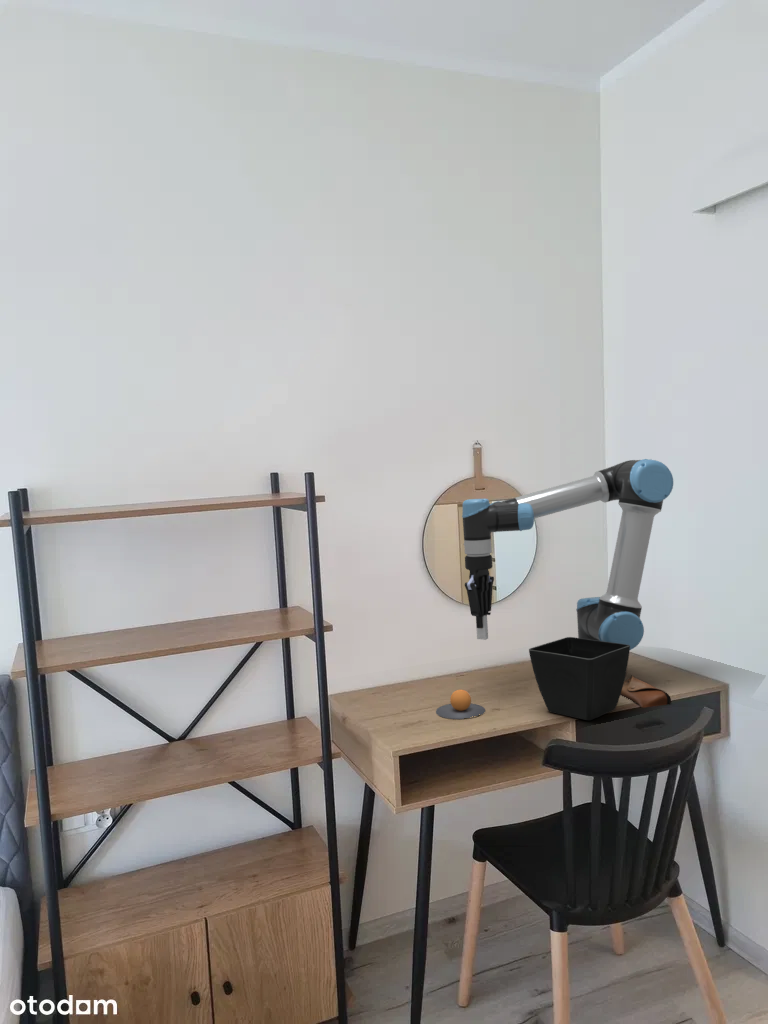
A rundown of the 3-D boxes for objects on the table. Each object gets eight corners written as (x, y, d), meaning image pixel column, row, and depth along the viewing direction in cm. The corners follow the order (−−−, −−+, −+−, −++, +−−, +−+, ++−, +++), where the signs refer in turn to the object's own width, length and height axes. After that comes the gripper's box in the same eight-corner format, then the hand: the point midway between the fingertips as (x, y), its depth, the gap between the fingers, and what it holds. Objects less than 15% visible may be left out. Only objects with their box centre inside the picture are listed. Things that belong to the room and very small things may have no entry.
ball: (454, 711, 205) (458, 691, 207) (472, 714, 201) (476, 693, 203) (444, 706, 201) (448, 686, 203) (463, 709, 197) (467, 688, 199)
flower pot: (571, 695, 210) (568, 634, 209) (634, 708, 196) (631, 643, 195) (529, 713, 197) (526, 648, 196) (594, 728, 183) (591, 659, 182)
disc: (451, 701, 211) (451, 700, 211) (493, 707, 203) (493, 706, 203) (426, 714, 200) (426, 714, 200) (469, 722, 192) (469, 721, 192)
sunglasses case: (606, 689, 213) (616, 668, 213) (626, 699, 214) (636, 678, 215) (642, 708, 195) (653, 685, 196) (664, 719, 197) (675, 695, 197)
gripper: (477, 551, 218) (481, 632, 219) (454, 557, 208) (459, 642, 209) (501, 552, 214) (505, 635, 215) (478, 557, 203) (483, 645, 204)
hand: (482, 638), depth 212 cm, fingers closed
